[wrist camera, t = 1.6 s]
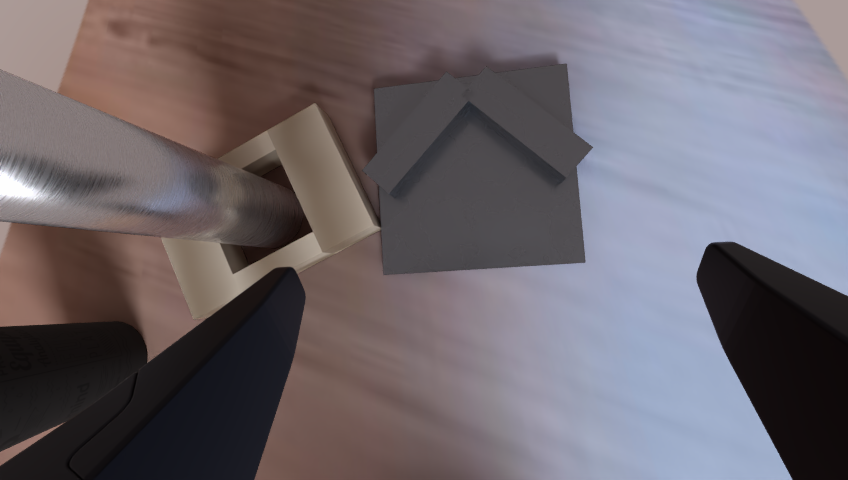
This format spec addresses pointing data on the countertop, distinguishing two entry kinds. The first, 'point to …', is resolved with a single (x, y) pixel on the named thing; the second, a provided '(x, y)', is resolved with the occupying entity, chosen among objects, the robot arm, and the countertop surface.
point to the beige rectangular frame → (320, 200)
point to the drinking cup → (60, 372)
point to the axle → (126, 177)
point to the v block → (478, 172)
